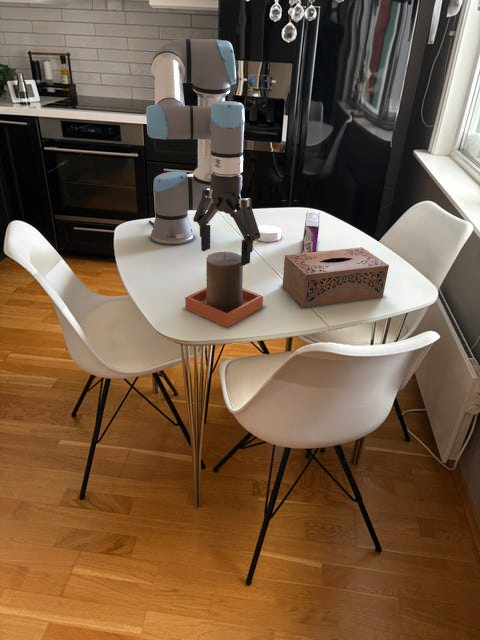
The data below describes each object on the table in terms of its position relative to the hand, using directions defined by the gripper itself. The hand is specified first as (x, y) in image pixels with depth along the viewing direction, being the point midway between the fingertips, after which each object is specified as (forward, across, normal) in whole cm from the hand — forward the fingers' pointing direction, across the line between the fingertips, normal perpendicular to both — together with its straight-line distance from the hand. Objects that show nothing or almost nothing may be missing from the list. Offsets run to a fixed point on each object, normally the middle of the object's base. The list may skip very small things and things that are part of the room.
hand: (225, 256), depth 125 cm
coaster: (+16, -25, +53) cm, 60 cm away
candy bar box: (+10, -3, +47) cm, 48 cm away
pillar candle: (+14, 0, 0) cm, 14 cm away
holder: (+15, 0, 0) cm, 15 cm away
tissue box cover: (+15, +17, +29) cm, 37 cm away
